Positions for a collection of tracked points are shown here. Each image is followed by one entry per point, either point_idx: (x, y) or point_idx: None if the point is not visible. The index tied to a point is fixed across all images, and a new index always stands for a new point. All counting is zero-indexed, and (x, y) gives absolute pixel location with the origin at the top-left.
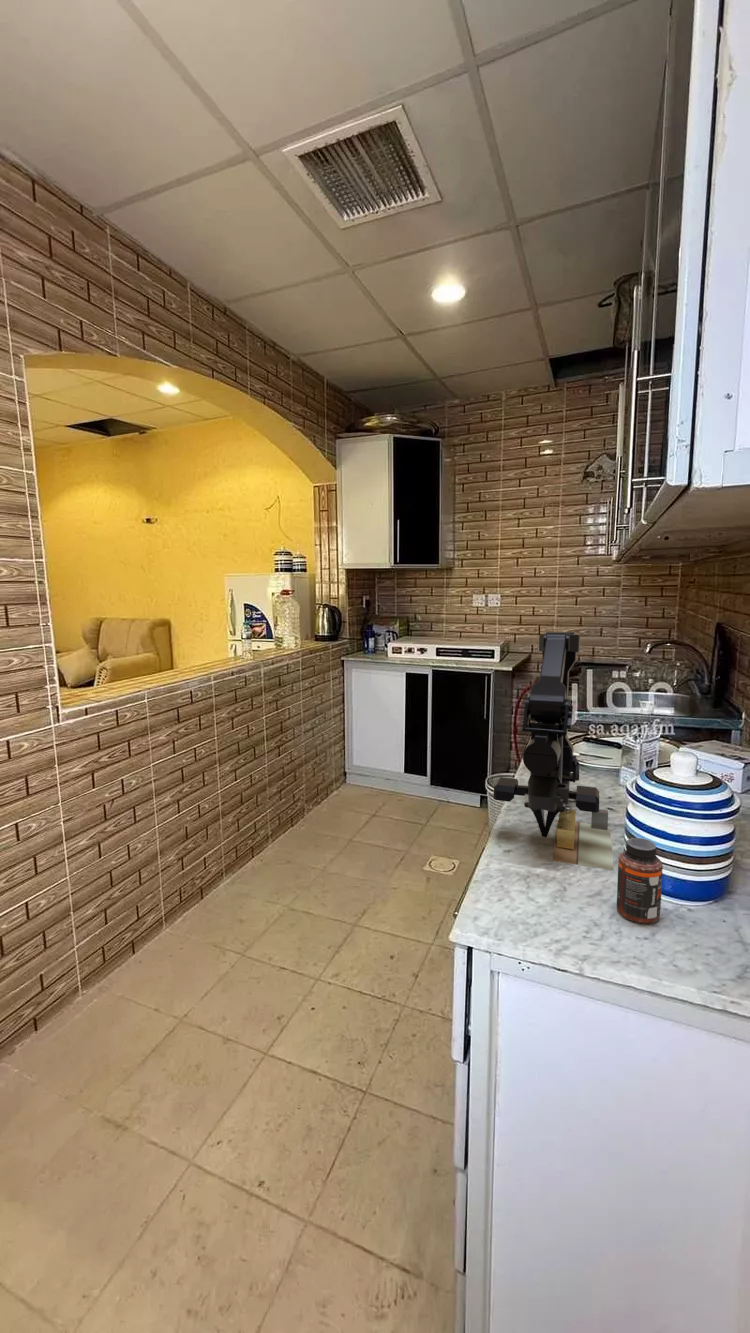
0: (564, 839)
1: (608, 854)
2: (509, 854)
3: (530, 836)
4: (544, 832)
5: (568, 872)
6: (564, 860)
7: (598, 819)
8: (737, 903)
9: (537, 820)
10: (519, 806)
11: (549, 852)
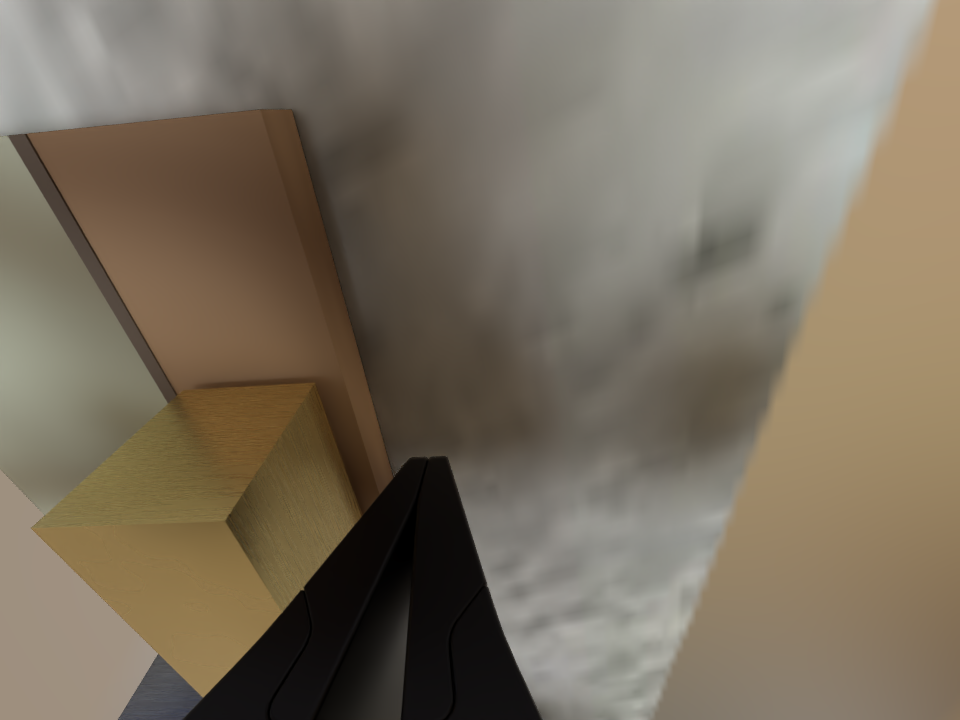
0: (215, 437)
1: None
2: (703, 193)
3: (551, 499)
4: (418, 487)
5: (122, 60)
6: (160, 169)
7: (179, 699)
8: None
9: (480, 602)
10: (629, 697)
11: (391, 355)
